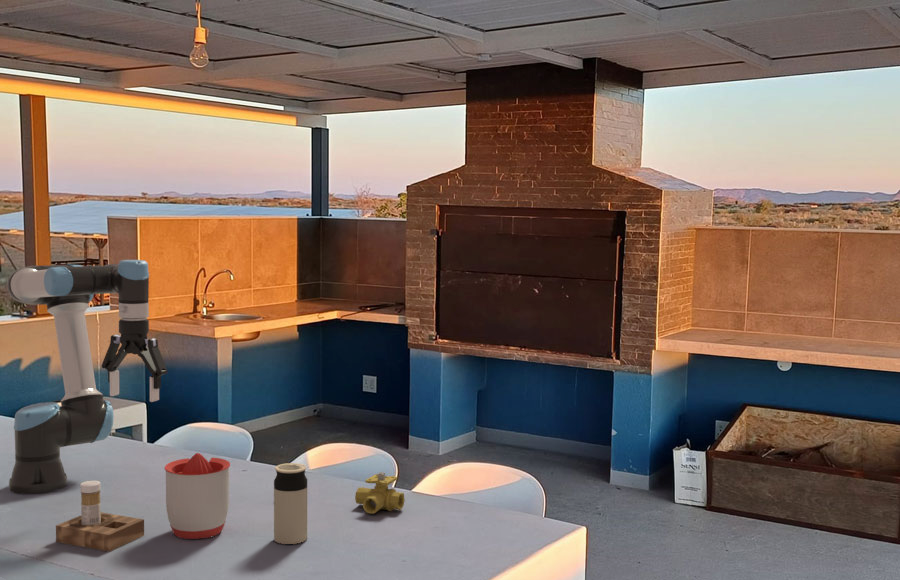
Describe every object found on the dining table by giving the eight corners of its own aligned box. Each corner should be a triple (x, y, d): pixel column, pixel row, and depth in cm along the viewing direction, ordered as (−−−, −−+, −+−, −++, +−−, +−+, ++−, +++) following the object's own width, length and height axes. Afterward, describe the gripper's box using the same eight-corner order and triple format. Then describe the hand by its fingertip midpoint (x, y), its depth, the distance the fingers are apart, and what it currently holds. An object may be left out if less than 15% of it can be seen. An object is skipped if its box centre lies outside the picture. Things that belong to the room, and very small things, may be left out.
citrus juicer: (232, 518, 241) (232, 442, 239) (228, 541, 224) (228, 460, 222) (170, 520, 238) (169, 444, 237) (161, 544, 221) (160, 462, 220)
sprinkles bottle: (100, 532, 229) (99, 479, 228) (102, 538, 225) (101, 484, 224) (80, 535, 227) (79, 481, 226) (82, 541, 223) (81, 486, 222)
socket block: (56, 541, 222) (55, 525, 222) (92, 526, 233) (92, 510, 233) (109, 551, 216) (109, 534, 216) (144, 535, 228) (144, 519, 227)
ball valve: (406, 508, 252) (406, 471, 251) (390, 519, 243) (390, 481, 242) (364, 502, 257) (364, 466, 256) (347, 513, 247) (347, 476, 246)
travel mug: (292, 547, 221) (292, 473, 219) (267, 541, 225) (266, 468, 223) (314, 538, 227) (314, 465, 226) (289, 531, 232) (289, 460, 230)
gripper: (87, 316, 247) (88, 395, 249) (161, 323, 237) (161, 405, 239) (108, 313, 254) (108, 390, 256) (181, 320, 244) (181, 400, 246)
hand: (134, 398), depth 247 cm, fingers open, 13 cm apart
